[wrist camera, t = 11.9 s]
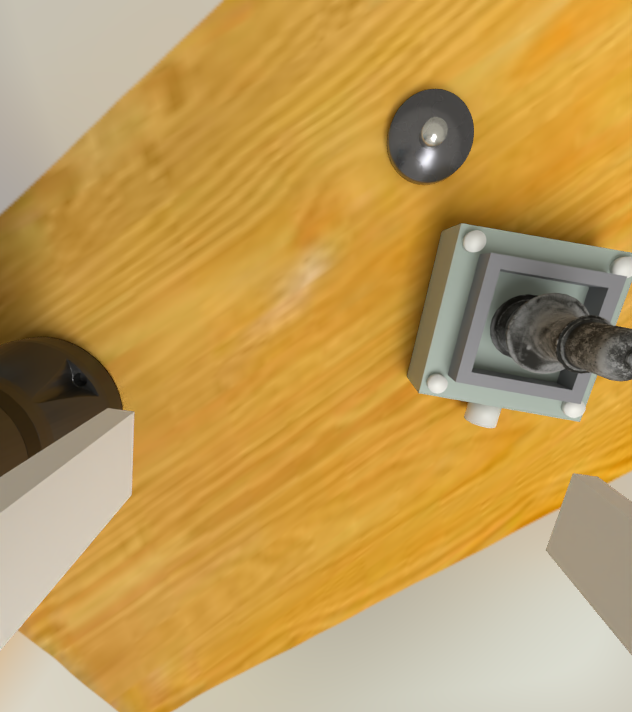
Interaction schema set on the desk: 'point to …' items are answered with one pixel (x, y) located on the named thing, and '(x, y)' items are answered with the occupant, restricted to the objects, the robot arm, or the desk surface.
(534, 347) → the dark metal chess piece
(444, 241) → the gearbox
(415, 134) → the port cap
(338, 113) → the desk surface
